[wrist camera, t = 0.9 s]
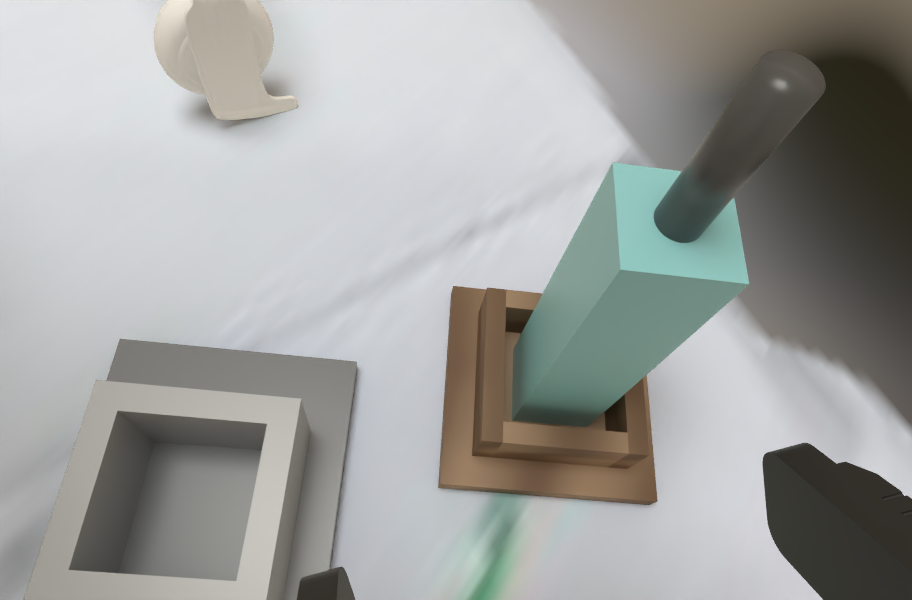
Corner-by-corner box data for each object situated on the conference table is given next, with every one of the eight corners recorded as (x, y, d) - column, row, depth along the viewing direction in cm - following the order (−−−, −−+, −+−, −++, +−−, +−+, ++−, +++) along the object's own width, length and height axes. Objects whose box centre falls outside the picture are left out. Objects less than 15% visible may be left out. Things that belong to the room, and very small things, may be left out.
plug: (511, 420, 33) (719, 131, 14) (513, 349, 35) (697, 3, 15) (586, 427, 33) (895, 155, 14) (584, 356, 35) (853, 27, 16)
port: (12, 707, 26) (-80, 730, 21) (126, 346, 33) (80, 294, 28) (309, 722, 27) (294, 747, 22) (357, 368, 34) (355, 322, 29)
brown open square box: (438, 487, 32) (447, 471, 28) (451, 294, 37) (459, 259, 33) (649, 504, 33) (683, 490, 29) (634, 313, 38) (661, 282, 34)
